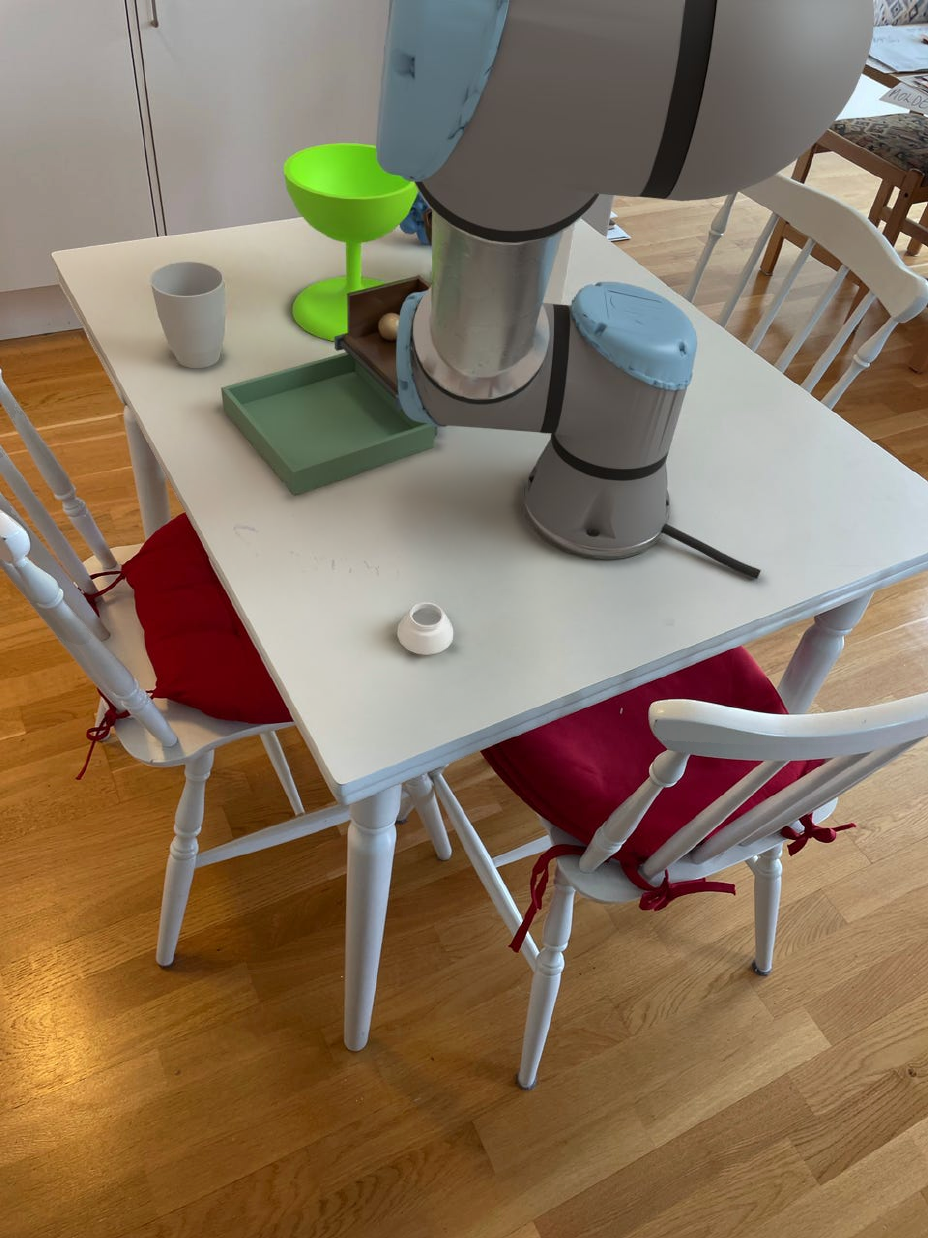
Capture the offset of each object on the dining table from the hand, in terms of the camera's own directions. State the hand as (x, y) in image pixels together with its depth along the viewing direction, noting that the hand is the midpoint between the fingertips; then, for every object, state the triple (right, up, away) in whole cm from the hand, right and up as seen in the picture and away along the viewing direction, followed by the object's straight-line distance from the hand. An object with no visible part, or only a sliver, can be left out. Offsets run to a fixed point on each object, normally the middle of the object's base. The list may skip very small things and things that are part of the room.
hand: (489, 210), depth 101 cm
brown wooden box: (-9, -14, +6) cm, 18 cm away
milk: (+7, -4, +26) cm, 27 cm away
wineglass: (-17, -3, +24) cm, 30 cm away
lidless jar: (-6, -45, -14) cm, 47 cm away
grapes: (-8, +11, +38) cm, 41 cm away
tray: (-18, -22, +6) cm, 29 cm away
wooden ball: (-11, -10, +7) cm, 16 cm away
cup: (-35, -12, +14) cm, 39 cm away
